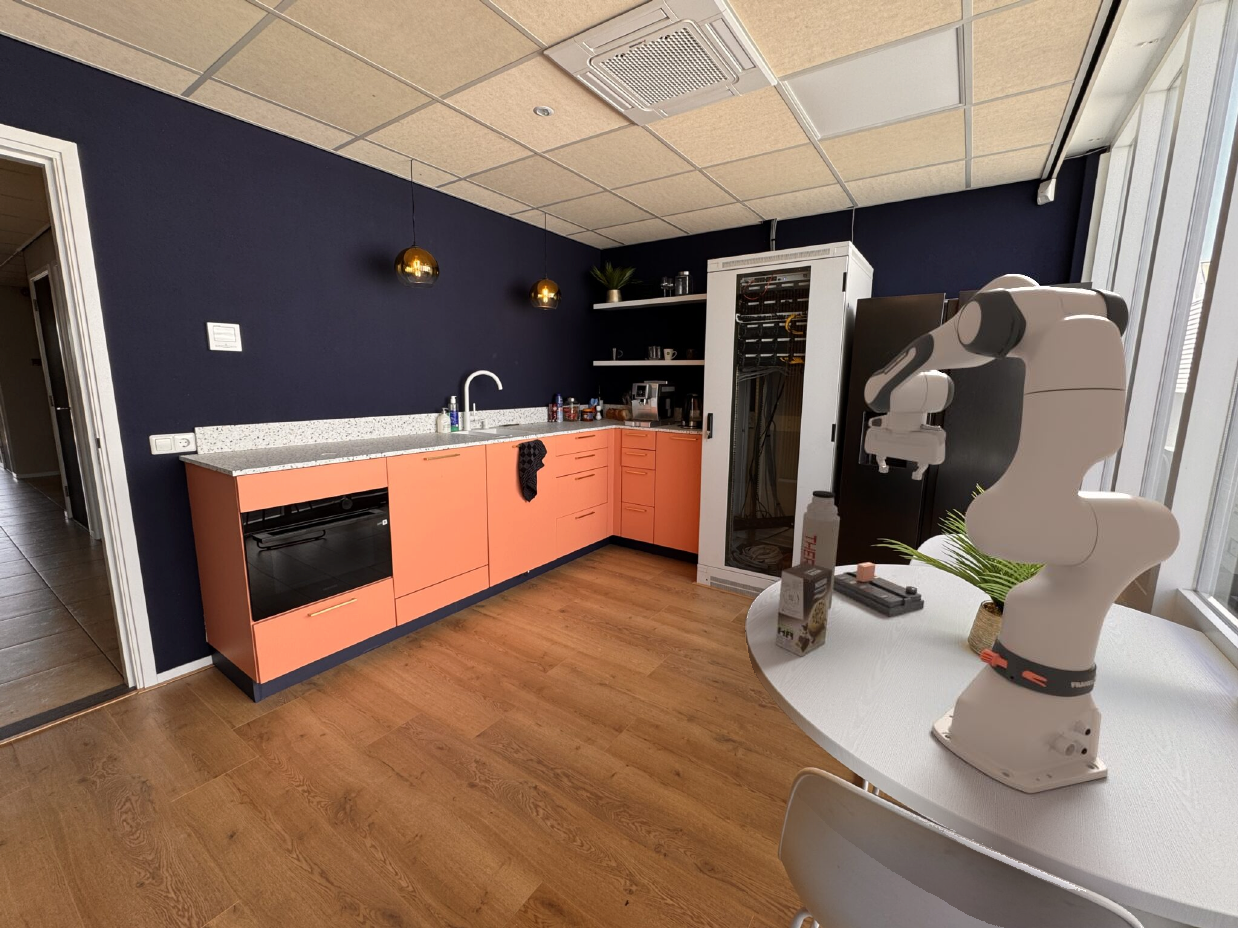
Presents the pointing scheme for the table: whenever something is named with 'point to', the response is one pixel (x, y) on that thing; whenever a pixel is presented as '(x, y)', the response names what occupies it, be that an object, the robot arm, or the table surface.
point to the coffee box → (803, 608)
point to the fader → (865, 572)
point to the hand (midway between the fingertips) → (899, 475)
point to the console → (879, 594)
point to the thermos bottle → (821, 533)
